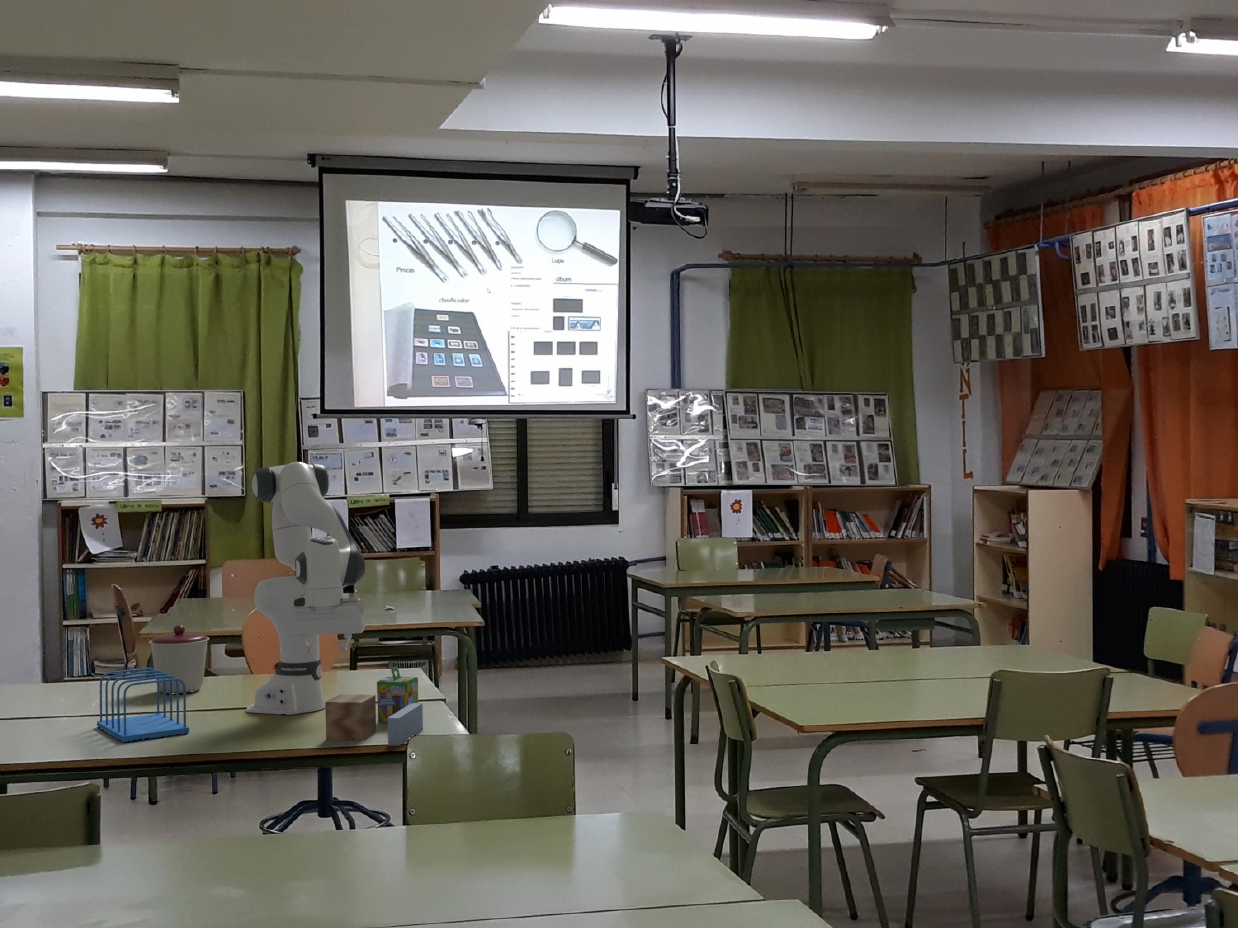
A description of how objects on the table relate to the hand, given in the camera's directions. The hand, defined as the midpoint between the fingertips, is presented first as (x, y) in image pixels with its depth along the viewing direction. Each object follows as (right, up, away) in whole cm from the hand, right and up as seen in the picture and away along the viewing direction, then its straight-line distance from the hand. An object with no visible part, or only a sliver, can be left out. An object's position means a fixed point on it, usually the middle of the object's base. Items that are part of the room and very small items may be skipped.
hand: (326, 651), depth 327 cm
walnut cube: (+6, -22, +1) cm, 23 cm away
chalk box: (+16, -22, +20) cm, 34 cm away
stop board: (+21, -22, -2) cm, 31 cm away
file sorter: (-53, -23, +11) cm, 59 cm away
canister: (-62, -23, +67) cm, 94 cm away
